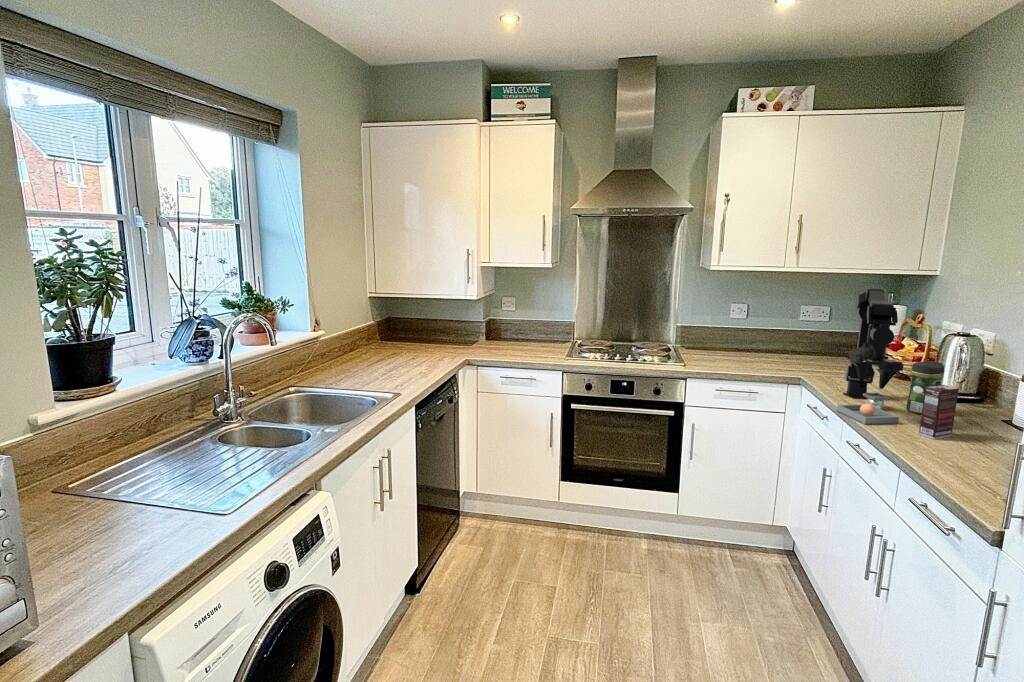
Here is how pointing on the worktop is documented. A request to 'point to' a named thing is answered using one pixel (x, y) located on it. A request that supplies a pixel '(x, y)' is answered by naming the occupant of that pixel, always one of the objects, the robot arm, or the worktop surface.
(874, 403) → the hollow square frame
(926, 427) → the supplement box
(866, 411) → the ball
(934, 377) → the coffee jar
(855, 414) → the tray
